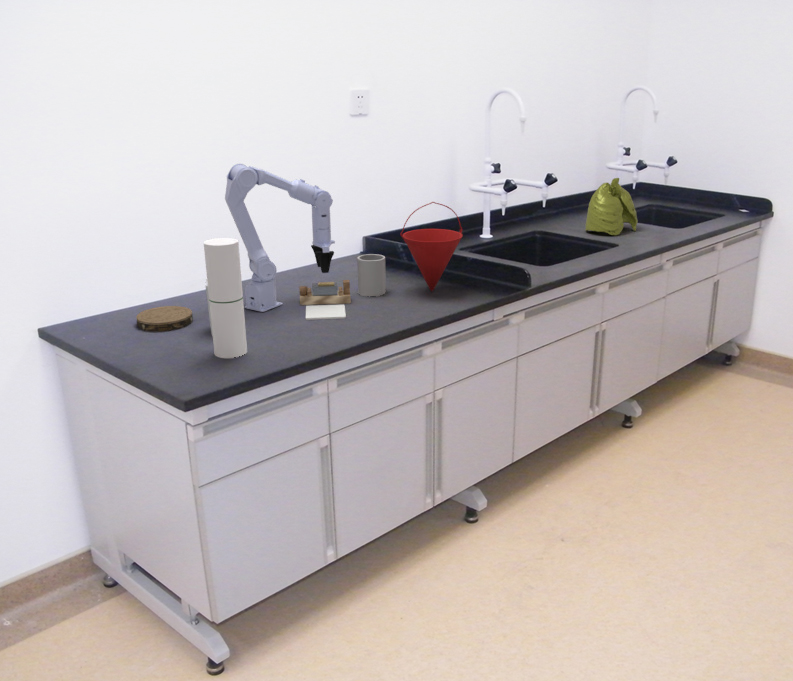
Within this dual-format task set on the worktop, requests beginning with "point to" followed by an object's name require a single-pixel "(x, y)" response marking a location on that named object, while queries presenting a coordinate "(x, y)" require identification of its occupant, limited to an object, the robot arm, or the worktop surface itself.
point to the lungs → (610, 209)
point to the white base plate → (325, 312)
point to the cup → (371, 275)
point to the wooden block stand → (341, 298)
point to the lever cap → (324, 289)
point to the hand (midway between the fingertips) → (323, 269)
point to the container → (225, 297)
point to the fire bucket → (432, 249)
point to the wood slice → (164, 318)
